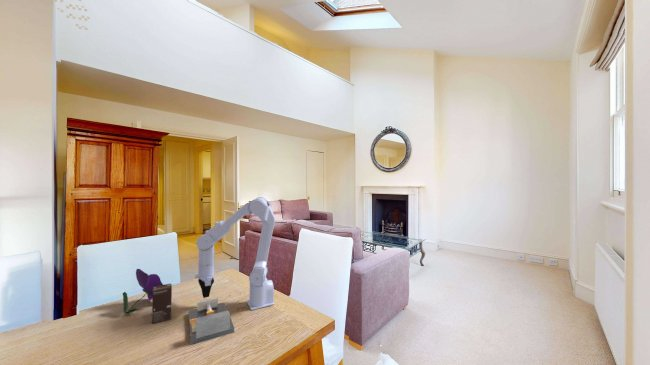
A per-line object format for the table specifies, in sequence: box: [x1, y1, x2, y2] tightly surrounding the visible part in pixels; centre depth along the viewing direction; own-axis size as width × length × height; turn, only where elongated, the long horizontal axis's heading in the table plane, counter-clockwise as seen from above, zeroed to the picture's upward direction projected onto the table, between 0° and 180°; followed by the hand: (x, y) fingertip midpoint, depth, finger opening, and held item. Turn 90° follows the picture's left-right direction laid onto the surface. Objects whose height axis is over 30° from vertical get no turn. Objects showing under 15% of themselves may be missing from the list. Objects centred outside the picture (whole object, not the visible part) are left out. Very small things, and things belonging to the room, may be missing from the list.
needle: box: [190, 310, 214, 324], centre depth 89 cm, size 1×8×2 cm, turn 121°
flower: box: [122, 268, 164, 315], centre depth 100 cm, size 15×15×14 cm
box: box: [151, 283, 173, 324], centre depth 93 cm, size 6×4×12 cm
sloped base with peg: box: [187, 301, 235, 345], centre depth 91 cm, size 20×13×6 cm, turn 31°
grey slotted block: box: [196, 296, 219, 312], centre depth 94 cm, size 8×7×3 cm
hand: (205, 296), depth 103 cm, fingers closed
